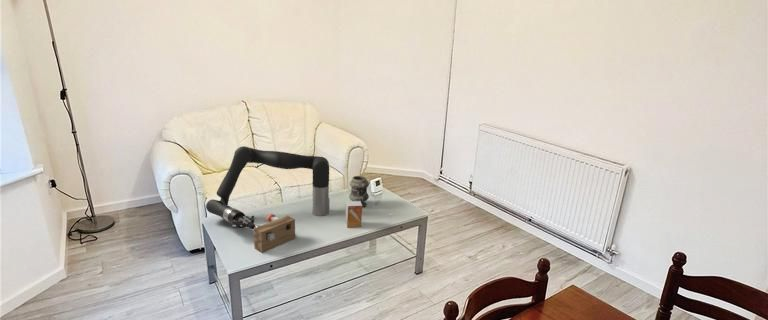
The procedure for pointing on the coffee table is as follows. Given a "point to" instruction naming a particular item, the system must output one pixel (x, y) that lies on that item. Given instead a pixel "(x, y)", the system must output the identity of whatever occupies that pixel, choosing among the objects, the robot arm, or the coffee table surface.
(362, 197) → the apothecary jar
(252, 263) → the coffee table surface
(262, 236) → the walnut housing
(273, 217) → the red plunger
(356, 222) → the small box
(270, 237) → the grey plunger
